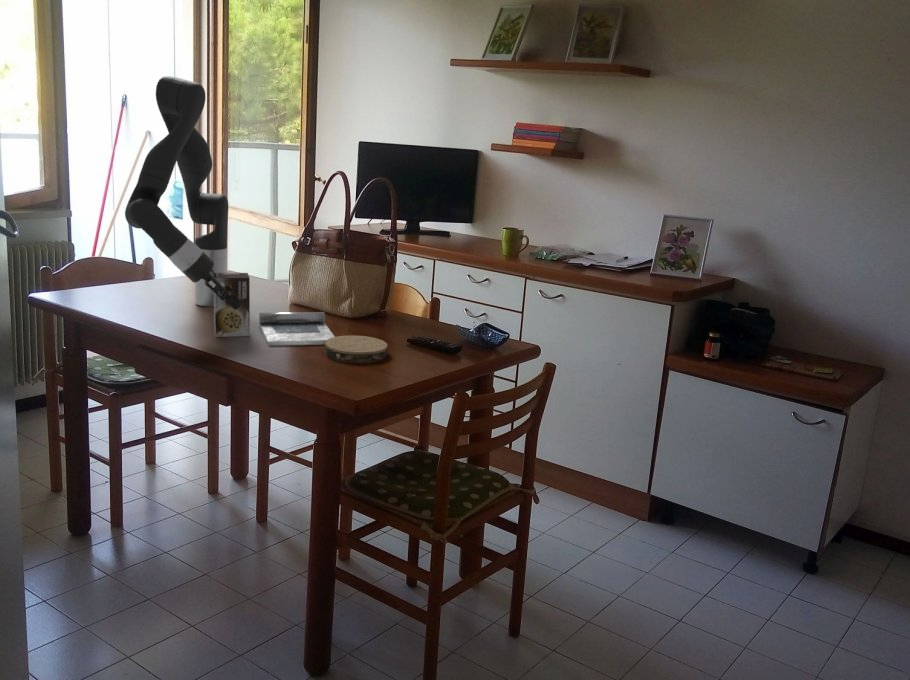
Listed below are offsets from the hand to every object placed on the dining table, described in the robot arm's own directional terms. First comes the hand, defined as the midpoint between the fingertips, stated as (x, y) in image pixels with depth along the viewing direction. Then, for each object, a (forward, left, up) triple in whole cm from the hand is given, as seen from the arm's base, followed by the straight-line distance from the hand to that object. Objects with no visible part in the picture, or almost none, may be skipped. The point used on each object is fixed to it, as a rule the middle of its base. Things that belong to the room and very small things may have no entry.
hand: (236, 303), depth 221 cm
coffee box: (0, -1, -9) cm, 9 cm away
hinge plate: (+2, +16, -8) cm, 18 cm away
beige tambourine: (+21, +28, -9) cm, 36 cm away
